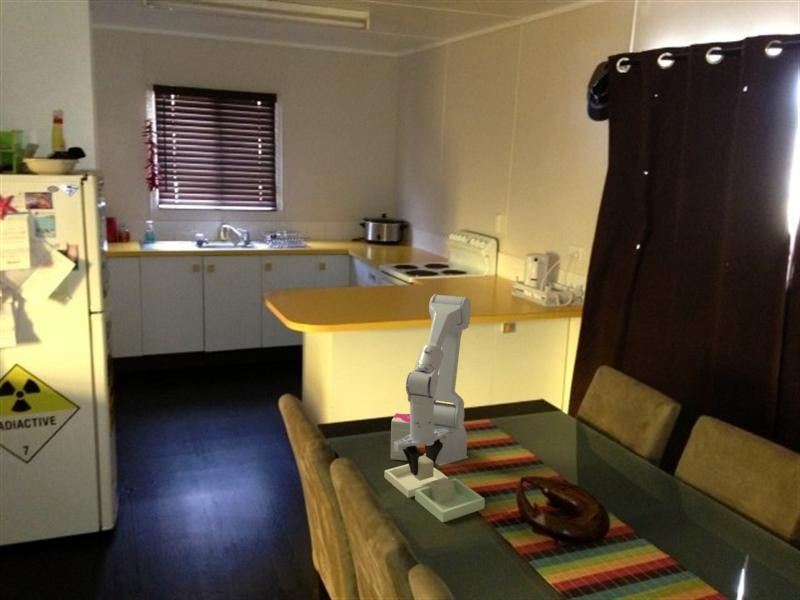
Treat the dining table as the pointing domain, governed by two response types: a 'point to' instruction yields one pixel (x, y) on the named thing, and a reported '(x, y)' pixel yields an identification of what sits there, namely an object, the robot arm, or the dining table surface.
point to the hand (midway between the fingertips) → (421, 471)
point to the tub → (451, 502)
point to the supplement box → (399, 433)
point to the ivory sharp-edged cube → (424, 468)
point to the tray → (409, 479)
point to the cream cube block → (442, 490)
